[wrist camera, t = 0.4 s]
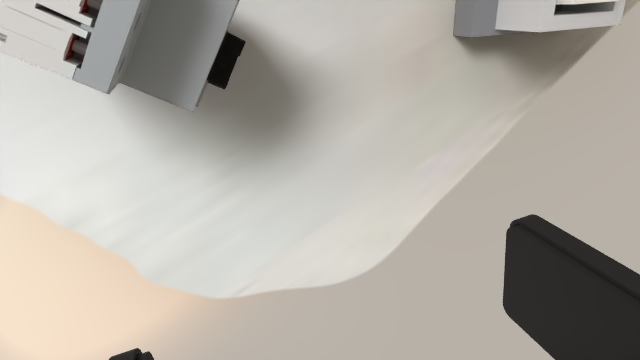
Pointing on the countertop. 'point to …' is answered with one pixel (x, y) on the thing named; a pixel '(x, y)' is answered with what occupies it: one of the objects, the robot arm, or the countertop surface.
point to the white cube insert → (581, 1)
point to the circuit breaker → (127, 43)
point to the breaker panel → (531, 16)
